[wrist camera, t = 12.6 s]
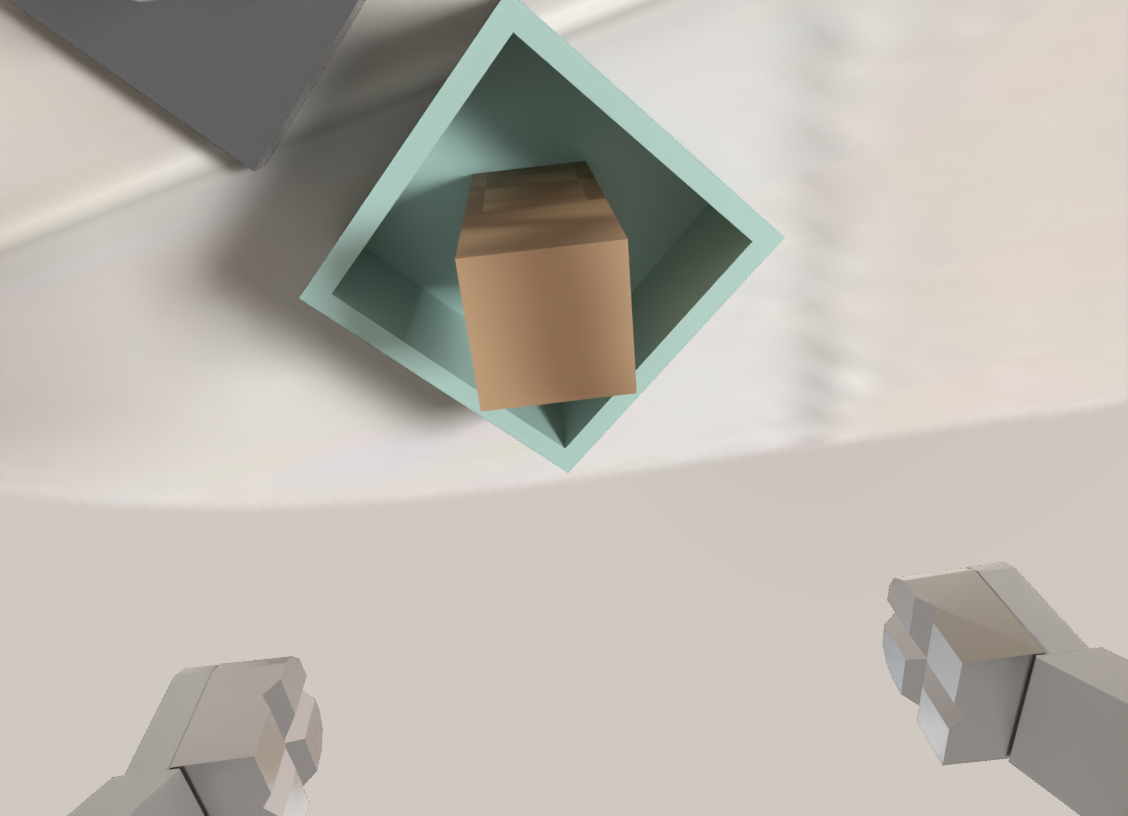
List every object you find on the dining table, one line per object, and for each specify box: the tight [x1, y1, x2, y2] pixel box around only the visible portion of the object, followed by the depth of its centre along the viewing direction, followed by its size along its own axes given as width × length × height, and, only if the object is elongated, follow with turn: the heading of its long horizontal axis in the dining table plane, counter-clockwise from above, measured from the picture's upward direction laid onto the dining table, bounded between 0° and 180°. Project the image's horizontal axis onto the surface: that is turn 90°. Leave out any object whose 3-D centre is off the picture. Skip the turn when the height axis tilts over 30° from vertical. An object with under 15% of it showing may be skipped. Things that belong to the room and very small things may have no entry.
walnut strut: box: [455, 161, 637, 412], centre depth 26 cm, size 5×5×12 cm
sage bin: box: [299, 0, 785, 473], centre depth 29 cm, size 12×12×7 cm
